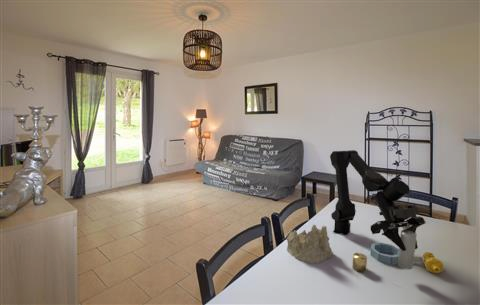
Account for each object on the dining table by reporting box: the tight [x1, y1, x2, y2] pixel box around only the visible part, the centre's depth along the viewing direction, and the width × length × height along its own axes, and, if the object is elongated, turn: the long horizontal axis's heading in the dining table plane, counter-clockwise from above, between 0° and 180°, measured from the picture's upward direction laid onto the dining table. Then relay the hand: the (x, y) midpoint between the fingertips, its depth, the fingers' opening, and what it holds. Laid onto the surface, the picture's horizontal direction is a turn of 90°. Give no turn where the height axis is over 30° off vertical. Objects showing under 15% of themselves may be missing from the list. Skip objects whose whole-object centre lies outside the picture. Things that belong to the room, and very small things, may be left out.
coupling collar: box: [369, 242, 399, 265], centre depth 102 cm, size 10×10×3 cm
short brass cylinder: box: [352, 252, 368, 274], centre depth 94 cm, size 5×5×5 cm
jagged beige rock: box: [286, 224, 333, 264], centre depth 105 cm, size 16×16×15 cm
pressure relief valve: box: [414, 251, 444, 274], centre depth 95 cm, size 6×12×10 cm
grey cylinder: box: [397, 229, 417, 270], centre depth 87 cm, size 4×4×12 cm
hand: (410, 249), depth 86 cm, fingers closed on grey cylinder, 4 cm apart
